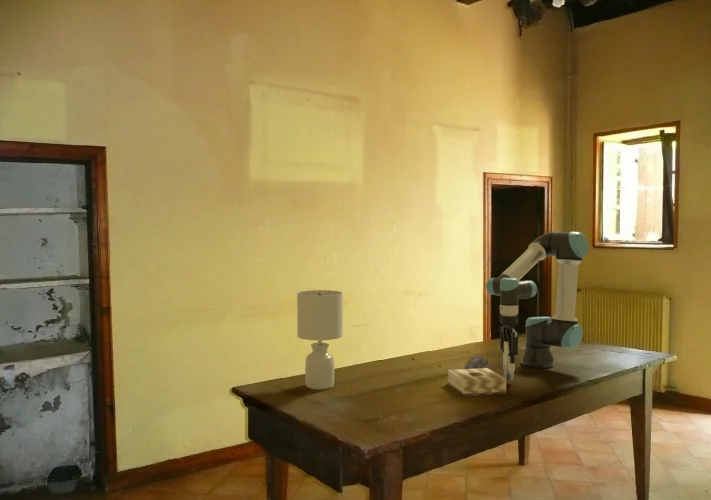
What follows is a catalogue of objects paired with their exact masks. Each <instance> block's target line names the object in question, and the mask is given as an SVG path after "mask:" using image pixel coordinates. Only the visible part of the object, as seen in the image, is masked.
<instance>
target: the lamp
mask: <svg viewBox="0 0 711 500" xmlns="http://www.w3.org/2000/svg"><path fill="white" fill-rule="evenodd" d="M343 293H344V292H342V291H339V290H330V289H329V290H328V289H323V290H322V289H316V290H315V289H312V290H303V291H298V292H297V295H296V296H297V297H296V298H297V299H296V300H297V303H296V304H297V305H296V306H297V307H296V308H297V314H296V315H297V317H296V319H297V320H296V321H297V324H296V325H297V326H296V327H297V328H296V329H297V333H296V335H297V336H296V337H297V338H298V339H301V340H307V341H317V342H313V343H311V344H310V346H311V348H312V351H311V352H310V353H308V354H307V355H306V357H305V365H304V368H305V369H304V371H305V378H304V379H305V386H306V388H308V389H309V390H315V391H320V390H321V391H322V390H329V389H332V388H333V387H334V386H335V358H334V355H333V354H331V353H330V352H329V351H328V347H329V346H330V345H329V343H327V342H323V341H331V340H332V341H333V340H337V339H340V338H342V337H343V307H344V306H343V299H344V297H343V296H344V295H343Z"/></svg>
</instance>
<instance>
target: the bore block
mask: <svg viewBox="0 0 711 500" xmlns="http://www.w3.org/2000/svg"><path fill="white" fill-rule="evenodd" d="M447 385H448V386H450V387H451V388H452V389H453V390H455V391H456V392H457V393H459V394H460V395H461V396H462V397H473V396H474V397H475V396H492V395H494V394H496V395H506V394H507V380H506V379H505V378H504V376H502V375H500V374H499V373H497V372H495V371H494V370H492V369H488V368H478V369H465V368H462V369H461V368H460V369H457V368H456V369H447ZM491 394H492V395H491Z"/></svg>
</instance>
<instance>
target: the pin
mask: <svg viewBox="0 0 711 500" xmlns="http://www.w3.org/2000/svg"><path fill="white" fill-rule="evenodd" d="M508 354H509V347H508V341H504V368H503V377H504V378H505V379H506V381H513V380H514V379H515V378H514V375H515V373H514V372H515V371H508Z"/></svg>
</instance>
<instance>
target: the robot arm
mask: <svg viewBox="0 0 711 500" xmlns="http://www.w3.org/2000/svg"><path fill="white" fill-rule="evenodd" d="M589 246H590V245H589V241H588V239H587V237H586V235H585V234H583V233H582V232H579V231H550V232H546V233H544V234H542V235H540V236H538V237H537V238H536V239H534V240H533V241H532V242H531V243H530V244H528V247H527V249H526V250H525V251H524V252H523V253H522V254H521V255H520V256H519V257H518V258H516V260H514V262H512V264H510V266H509V267H507V268H505V270H504V271H503V272H502V273H501V274H500V275H499V276H498V277H491V278H489V279H487V281H486V284H485V288H486V291H487V293H488V294H489V295H493V296H499V307H498V309H499V314H500V315H499V324H501V325H502V326H499V342H500V344H499V345H500V349H499V350H501V352H502V368H503V369H504V341H508V347H509V354H508V371H514V372H515V370H516V368H515V367H516V364H515V362H516V361H515V360H516V359H515V358H516V356H518V355H519V335H520V332H519V331H518V332H517V331H516V325H518V324H519V300H522V299H531V298H533V297H536V294H537V293H538V286H537V284H536V283H535V282H534V281H533V280H521V279H522V278H523V277H524V276H525V275H526V274H527V273H528V272H529V271H530V270H531V269H532V268H533V267H535V265H536V264H538V263H539V262H540V261H543V260H545V259H546V258H548V257H552V256H553V257H555V261H556V262H557V263H558V269H557V270H558V271H557V272H558V273H557V286H556V287H557V288H556V297H555V298H556V300H555V313H554V315H553V316H552V317H551V316H533V317H532V316H531V317H528V318H527V319H526V320H525V343H524V344H525V346H524V351H523V354H522V355H521V361H520V363H521V365H523V366H525V367H530V368H538V369H539V368H540V369H545V368H546V369H548V368H553V367H554V365H555V360H554V357H553V353H552V350H551V347H557V348H562V349H563V350H565V349H568V350H574V349H575V348H578V346H579V345H580V343H581V341H582V340H583V333H584V331H583V328H582V326H581V325H580V324H579V319H578V318H577V317H576V306H577V291H578V276H579V265H580V264H581V263H583V258H586V257H587V255H588V252H589V249H590V247H589Z"/></svg>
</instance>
